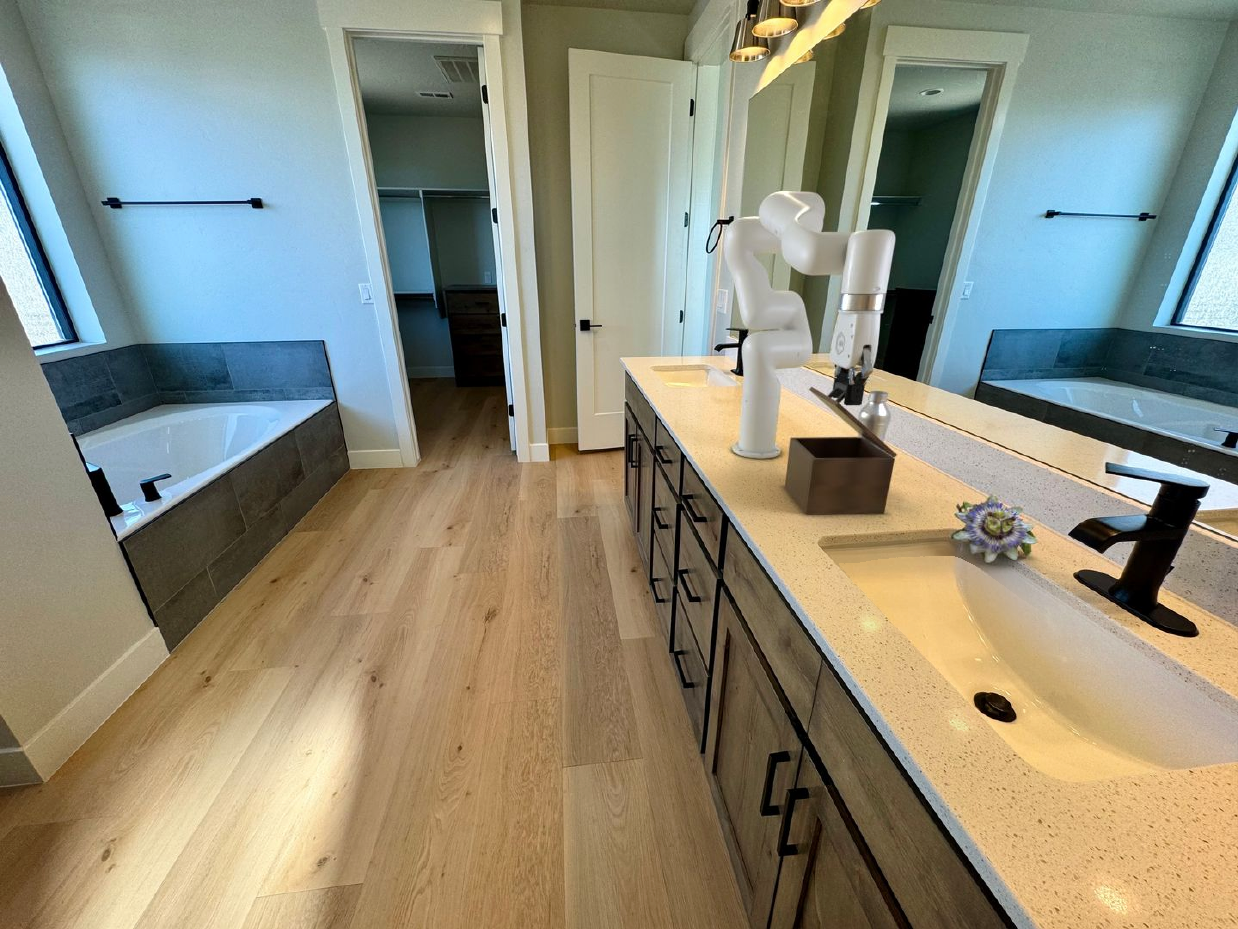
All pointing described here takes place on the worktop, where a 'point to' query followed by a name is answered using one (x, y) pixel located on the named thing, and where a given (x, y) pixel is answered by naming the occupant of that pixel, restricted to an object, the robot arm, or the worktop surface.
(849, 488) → the chest
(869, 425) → the silver metal bottle
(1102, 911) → the worktop surface
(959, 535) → the passion flower
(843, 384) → the lid
